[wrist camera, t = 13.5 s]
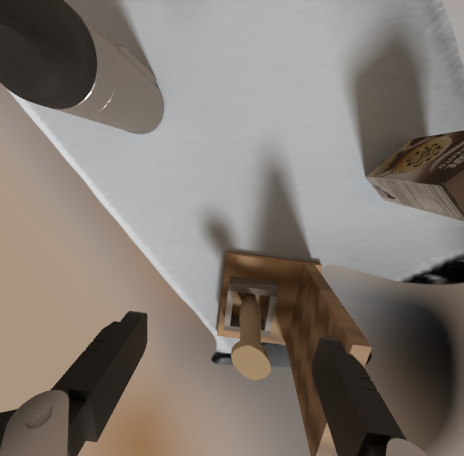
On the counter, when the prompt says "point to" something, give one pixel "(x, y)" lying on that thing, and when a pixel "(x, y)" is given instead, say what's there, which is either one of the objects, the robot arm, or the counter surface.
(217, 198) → the counter surface
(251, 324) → the handle
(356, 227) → the counter surface
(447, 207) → the coffee box
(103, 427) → the robot arm
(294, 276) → the board
